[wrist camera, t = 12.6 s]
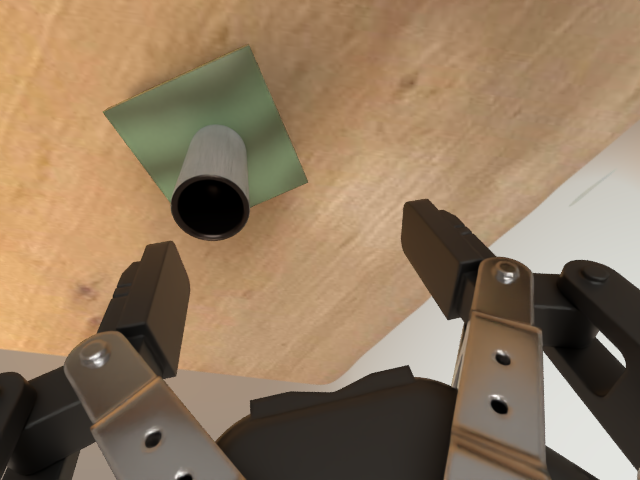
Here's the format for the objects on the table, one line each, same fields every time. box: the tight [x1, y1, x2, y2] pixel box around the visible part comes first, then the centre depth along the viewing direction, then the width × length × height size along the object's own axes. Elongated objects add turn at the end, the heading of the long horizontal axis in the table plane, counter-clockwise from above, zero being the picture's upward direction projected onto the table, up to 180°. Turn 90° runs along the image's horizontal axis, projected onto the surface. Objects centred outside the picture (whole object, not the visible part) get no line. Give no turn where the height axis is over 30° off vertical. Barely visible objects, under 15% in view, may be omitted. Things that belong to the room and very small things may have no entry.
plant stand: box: [103, 44, 308, 207], centre depth 31 cm, size 12×12×7 cm
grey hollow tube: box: [171, 125, 250, 241], centre depth 24 cm, size 4×4×10 cm
